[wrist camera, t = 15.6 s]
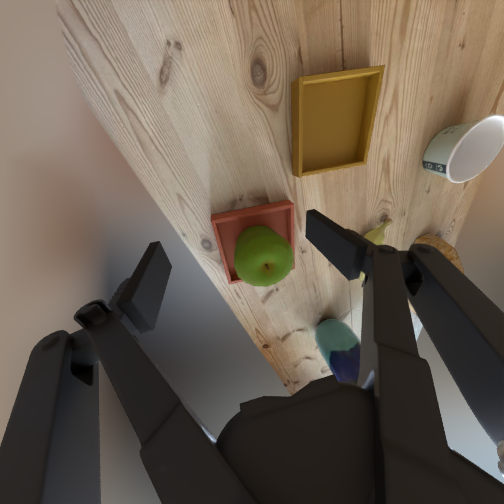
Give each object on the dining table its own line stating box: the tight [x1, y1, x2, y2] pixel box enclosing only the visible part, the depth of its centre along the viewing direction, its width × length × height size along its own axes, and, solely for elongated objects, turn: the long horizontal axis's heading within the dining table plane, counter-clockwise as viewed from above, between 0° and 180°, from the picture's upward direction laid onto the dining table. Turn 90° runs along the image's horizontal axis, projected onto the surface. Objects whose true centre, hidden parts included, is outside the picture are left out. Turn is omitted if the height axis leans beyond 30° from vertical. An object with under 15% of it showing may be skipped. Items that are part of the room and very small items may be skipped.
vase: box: [315, 319, 361, 385], centre depth 57 cm, size 14×14×31 cm
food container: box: [423, 114, 504, 183], centre depth 38 cm, size 12×12×6 cm
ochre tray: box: [291, 65, 385, 177], centre depth 33 cm, size 14×14×3 cm
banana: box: [359, 218, 393, 281], centre depth 51 cm, size 14×6×20 cm
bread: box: [408, 233, 464, 315], centre depth 60 cm, size 36×11×10 cm, turn 24°
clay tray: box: [211, 200, 295, 284], centre depth 42 cm, size 18×18×3 cm
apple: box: [234, 225, 294, 286], centre depth 38 cm, size 12×12×11 cm
